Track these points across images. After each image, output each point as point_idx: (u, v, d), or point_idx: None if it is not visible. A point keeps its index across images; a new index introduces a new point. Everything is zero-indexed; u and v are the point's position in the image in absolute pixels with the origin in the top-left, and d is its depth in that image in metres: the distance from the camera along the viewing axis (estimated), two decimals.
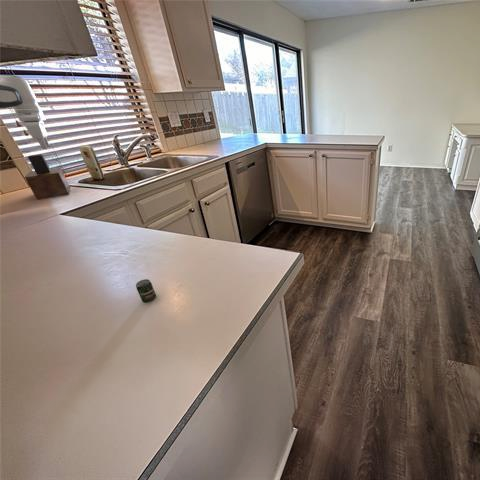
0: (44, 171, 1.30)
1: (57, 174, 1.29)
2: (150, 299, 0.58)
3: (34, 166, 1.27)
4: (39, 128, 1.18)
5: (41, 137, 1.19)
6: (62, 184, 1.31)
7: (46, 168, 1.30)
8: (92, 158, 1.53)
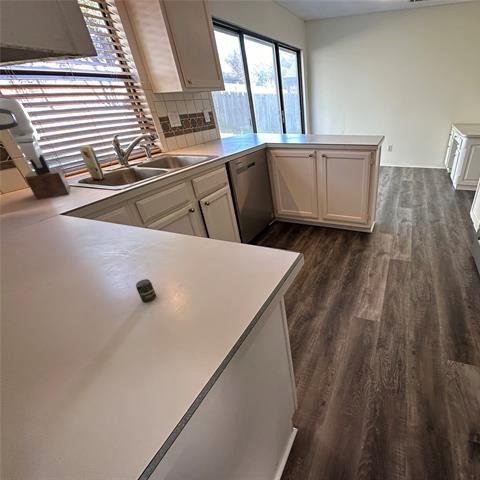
0: (44, 171, 1.30)
1: (57, 174, 1.29)
2: (150, 299, 0.58)
3: (34, 166, 1.27)
4: (33, 149, 1.20)
5: (35, 157, 1.21)
6: (62, 184, 1.31)
7: (46, 168, 1.30)
8: (92, 158, 1.53)
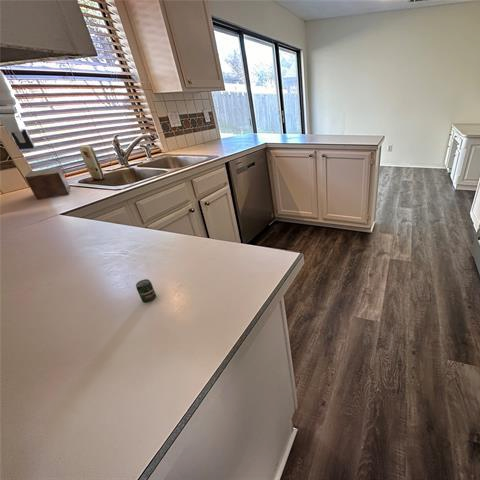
0: (27, 147, 1.21)
1: (57, 174, 1.29)
2: (150, 299, 0.58)
3: (16, 141, 1.18)
4: (15, 121, 1.11)
5: (17, 130, 1.12)
6: (62, 184, 1.31)
7: (30, 144, 1.21)
8: (92, 158, 1.53)
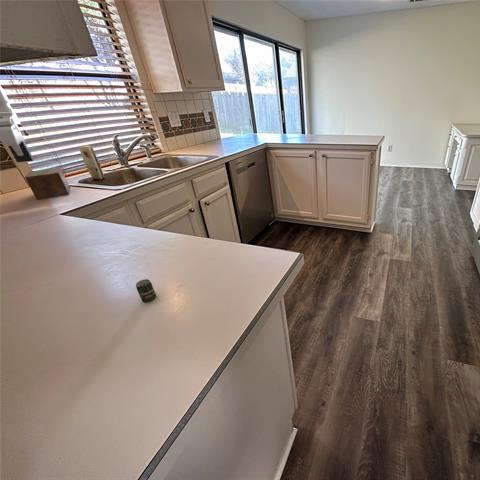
0: (26, 160, 1.15)
1: (57, 174, 1.29)
2: (150, 299, 0.58)
3: (14, 154, 1.13)
4: (12, 133, 1.06)
5: (14, 143, 1.07)
6: (62, 184, 1.31)
7: (28, 156, 1.16)
8: (92, 158, 1.53)
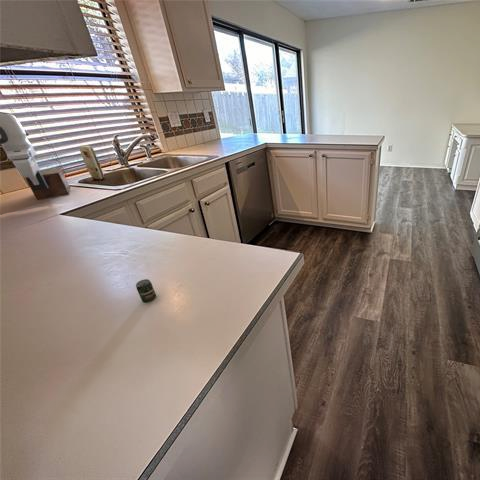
0: (41, 188, 1.21)
1: (57, 174, 1.29)
2: (150, 299, 0.58)
3: (30, 183, 1.19)
4: (29, 166, 1.11)
5: (31, 175, 1.13)
6: (62, 184, 1.31)
7: (43, 185, 1.21)
8: (92, 158, 1.53)
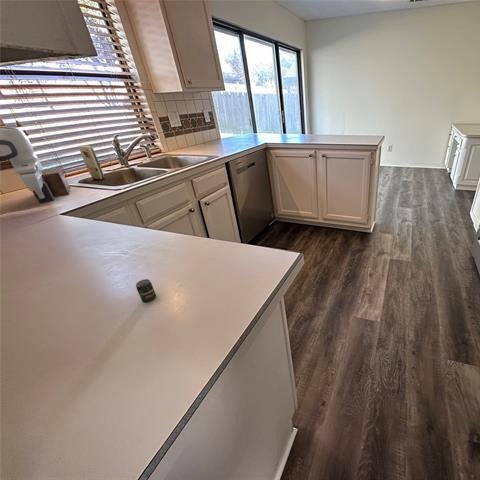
0: (47, 200, 1.24)
1: (57, 174, 1.29)
2: (150, 299, 0.58)
3: (37, 195, 1.21)
4: (36, 179, 1.14)
5: (38, 188, 1.15)
6: (62, 184, 1.31)
7: (50, 197, 1.24)
8: (92, 158, 1.53)
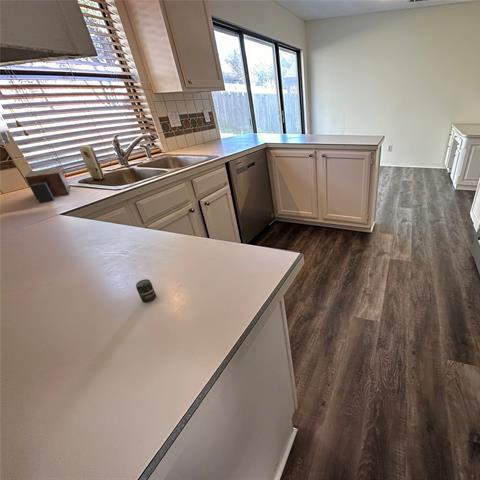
0: (47, 200, 1.24)
1: (57, 174, 1.29)
2: (150, 299, 0.58)
3: (37, 195, 1.21)
4: None
5: None
6: (62, 184, 1.31)
7: (50, 197, 1.24)
8: (92, 158, 1.53)
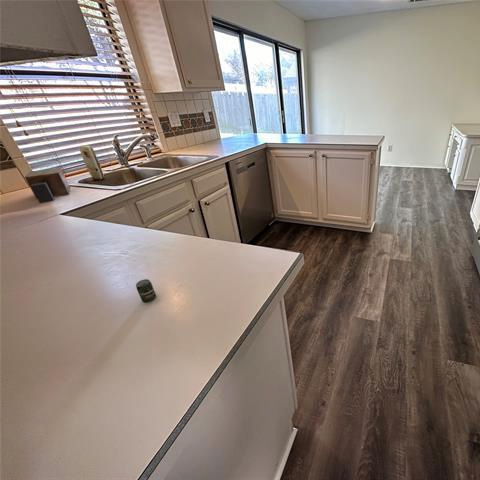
0: (47, 200, 1.24)
1: (57, 174, 1.29)
2: (150, 299, 0.58)
3: (37, 195, 1.21)
4: None
5: None
6: (62, 184, 1.31)
7: (50, 197, 1.24)
8: (92, 158, 1.53)
